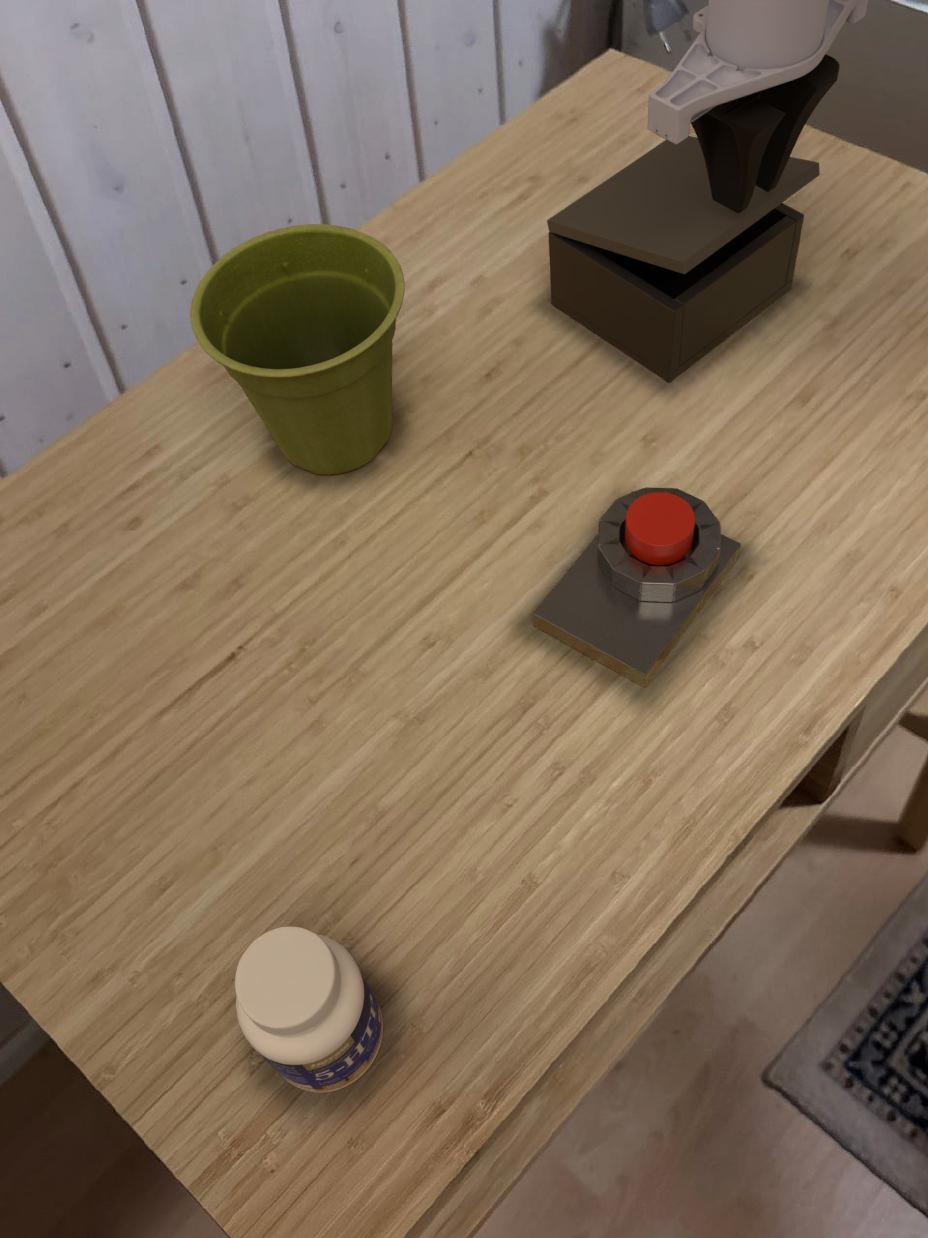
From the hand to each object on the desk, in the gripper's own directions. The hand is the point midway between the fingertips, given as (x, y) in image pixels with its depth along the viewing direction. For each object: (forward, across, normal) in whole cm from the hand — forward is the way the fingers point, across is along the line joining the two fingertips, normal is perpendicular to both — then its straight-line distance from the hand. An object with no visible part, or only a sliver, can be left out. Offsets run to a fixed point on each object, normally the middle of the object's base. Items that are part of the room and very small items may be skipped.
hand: (743, 192), depth 65 cm
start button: (+8, +17, +9) cm, 21 cm away
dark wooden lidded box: (+10, 0, -5) cm, 11 cm away
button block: (+10, +18, +10) cm, 23 cm away
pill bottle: (+11, +46, +17) cm, 50 cm away
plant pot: (+11, +23, -12) cm, 28 cm away
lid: (+3, 0, -5) cm, 5 cm away
